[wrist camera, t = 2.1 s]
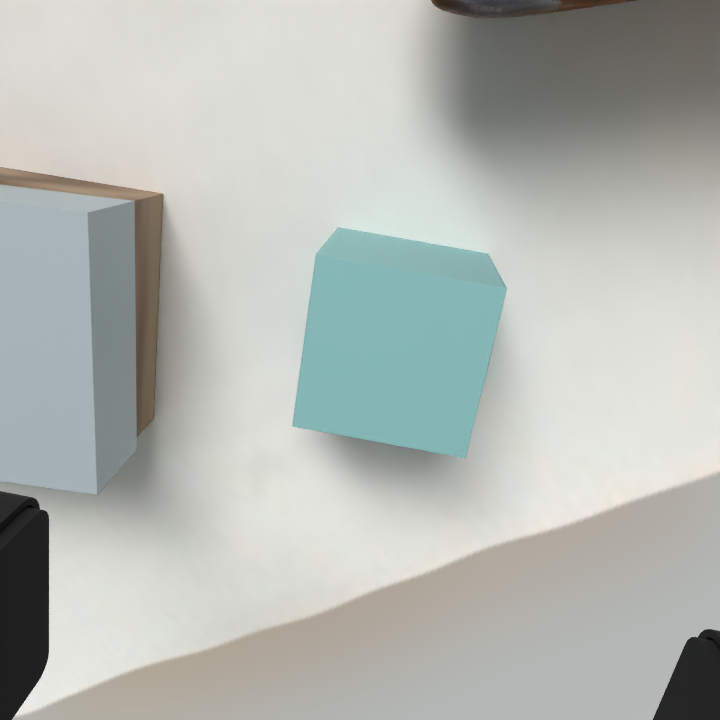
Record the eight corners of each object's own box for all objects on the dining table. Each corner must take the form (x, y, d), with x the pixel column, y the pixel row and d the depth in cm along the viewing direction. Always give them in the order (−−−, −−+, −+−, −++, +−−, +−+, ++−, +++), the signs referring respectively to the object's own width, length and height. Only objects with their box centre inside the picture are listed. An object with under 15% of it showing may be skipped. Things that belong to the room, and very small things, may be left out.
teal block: (488, 253, 26) (506, 288, 20) (456, 391, 28) (465, 458, 22) (338, 226, 26) (315, 254, 20) (318, 366, 28) (292, 426, 22)
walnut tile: (167, 192, 26) (132, 201, 23) (158, 413, 30) (125, 448, 27) (-69, 154, 27) (-138, 157, 23) (-52, 377, 30) (-110, 407, 27)
